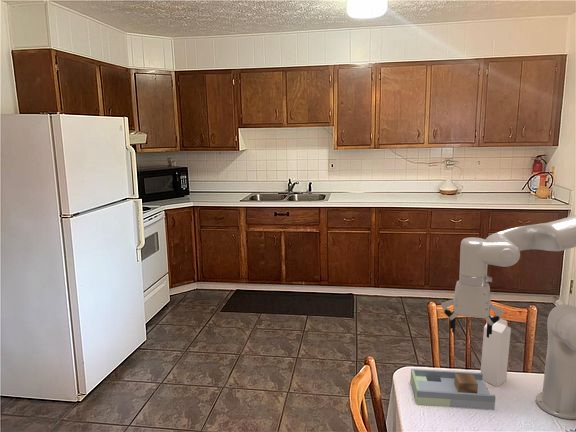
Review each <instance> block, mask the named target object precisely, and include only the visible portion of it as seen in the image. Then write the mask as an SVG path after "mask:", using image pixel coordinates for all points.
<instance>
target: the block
mask: <svg viewBox="0 0 576 432" xmlns="http://www.w3.org/2000/svg"><path fill="white" fill-rule="evenodd" d="M454 384H455V387H456V389H457V391H458V392H461V393H476V394H477V390H478V383H477V381H476V379H475V378H474V376H473V375H472V374H456V373H455V378H454Z"/></svg>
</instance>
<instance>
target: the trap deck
mask: <svg viewBox="0 0 576 432" xmlns="http://www.w3.org/2000/svg"><path fill="white" fill-rule="evenodd" d="M455 373H456V374H472V375H473V376H474V378H475V379H476V381H477V383H478V390H477V394H476V393H461V392H458V391H457V389H456V387H455V384H454V378H455ZM482 378H483V374H482V373H480V372H471V371H470V372H468V371H452V370H438V369H437V370H435V369H421V368H420V369H419V368H410V385H411V387H412V388H411V389H412V392H413V397H414V400H415V403H416V405H418V406H431V407H449V408H460V409H472V410H473V409H477V410H490V411H495V405H496V395H495V394H491V392H490V391H489V389H488V388H487V386H486V385H485V381H483V380H482Z"/></svg>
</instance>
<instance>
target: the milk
mask: <svg viewBox="0 0 576 432" xmlns="http://www.w3.org/2000/svg"><path fill="white" fill-rule="evenodd" d="M490 316H491V317H494V316H493V315H490ZM511 332H512V327H510V326H508V321H507V320H505V319H502V318H500V319H499V321H497V322H496V323H494V324H493V325H492V334H489V338H487V322H486V324H485V325H484V326H483V336H482V337H483V338H482V349H481V361H480V372H479V373H482V374H483V378H482V380H483V382H484V383H485V382H486V383H488V384H490V385H492V386H494V387H495V388H497V387H499V386H500V385H502V384H504V383H505V382H507V375H508V366H509V365H508V364H509V356H510V355H509V354H510V345H511V344H510V343H511V342H510V341H511Z"/></svg>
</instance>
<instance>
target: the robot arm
mask: <svg viewBox="0 0 576 432" xmlns="http://www.w3.org/2000/svg"><path fill="white" fill-rule="evenodd" d="M573 248H576V214H575V215H570V216H568V217H564V218H561V219H557V220H553V221H549V222H544V223H543V222H542V223H537V224H536V223H534V224H527V225H523V226H521V225H520V226H516V227H512V228H507V229H504V230H501V231H497V232H495V233H491V234H489V236H487V237H486V238H481V237H470V236H469V237H466V238H463V239H462V240H461V241H460V247H459V249H460V251H459V274H458V275H459V280H456V284H455V288H454V295H453V296H454V297H453V298H452V299H449V300H447V301H444V302H441V305H440V306H441V309H442V310H443V313H444V314H445V315H446V316H447V317H448V319H449V329H451V330H452V331H451V333H455V332H456V325H457V324H456V320H457V319H456V317H458V316H462V317H468V318H477V319H484V320H485V321H486V323H487V338H489V334H492V325H493V324H494V323H496V322H497V321H499V319H502V316H503V315H504V309H501V308H500V307H499V306H496V305H494V304H493V303H491V287H490V284H489V282H490V283H493V277H492V276H489V275H488V265H492V266H495V267H496V266H497V267H512V266H513V265H515V264H517V263H518V262H519V260H520V258H521V252H522V251H527V250H542V251H548V252H562V251H566V250H569V249H573ZM452 305H453V310H452V311H451V310H450V309H449V308H448V307H450V306H452ZM491 311H493V312H495V313H496V315H494V316H493V317H491V316H492V315H490V314H491ZM546 321H547V324H546V325H547V326H546V327H547V348H546V357H545V364H544V365H545V367H544V374H543V375H544V376H543V384H542V385H543V386H542V391H541V392H539V393H537V394H536V396H535V403H536V404H537V406H538V407H539V408H540V409H542V410H543V411H544V412H546V413H548V414H550V415H552V416H554V417H558V418H561V419H565V420H576V306H574V305H570V304H559V305H556V306H554V307H553V308H552V309H551V310H550V312H549V313H548V316H547V320H546Z"/></svg>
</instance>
